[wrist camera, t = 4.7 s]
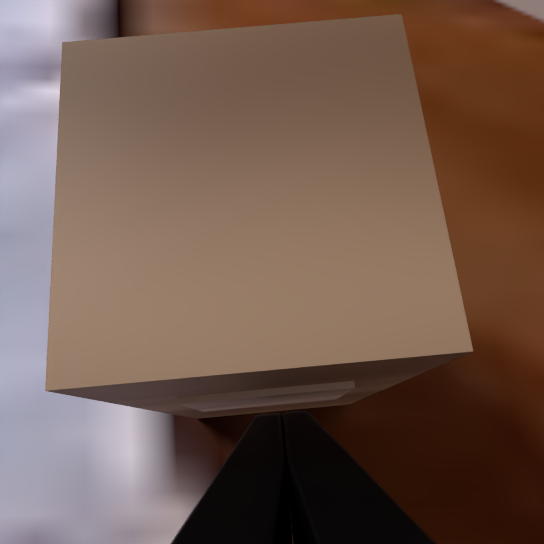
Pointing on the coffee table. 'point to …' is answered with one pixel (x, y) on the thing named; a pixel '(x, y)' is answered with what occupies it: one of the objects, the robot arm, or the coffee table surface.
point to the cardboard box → (247, 221)
